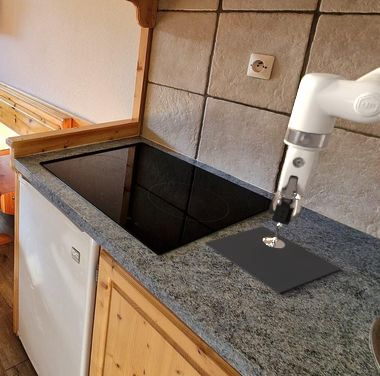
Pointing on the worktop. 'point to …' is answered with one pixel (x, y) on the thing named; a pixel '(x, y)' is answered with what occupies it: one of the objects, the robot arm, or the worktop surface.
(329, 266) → the placemat
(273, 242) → the wineglass
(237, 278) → the worktop surface
